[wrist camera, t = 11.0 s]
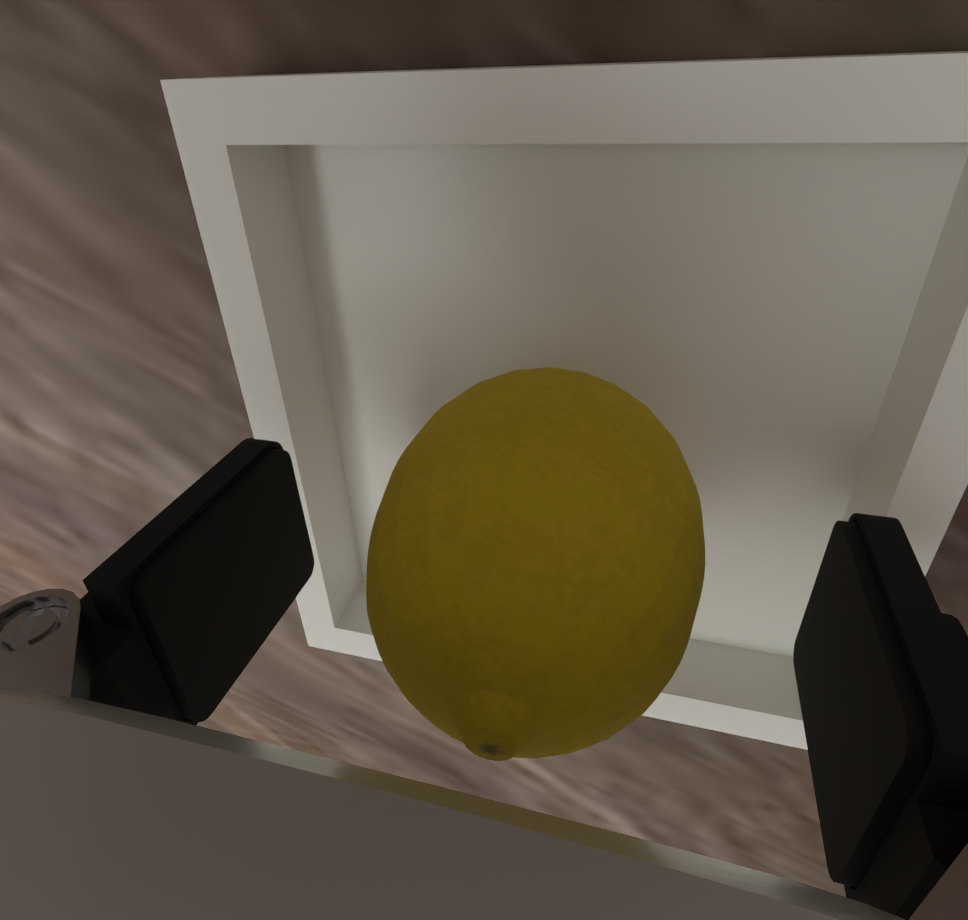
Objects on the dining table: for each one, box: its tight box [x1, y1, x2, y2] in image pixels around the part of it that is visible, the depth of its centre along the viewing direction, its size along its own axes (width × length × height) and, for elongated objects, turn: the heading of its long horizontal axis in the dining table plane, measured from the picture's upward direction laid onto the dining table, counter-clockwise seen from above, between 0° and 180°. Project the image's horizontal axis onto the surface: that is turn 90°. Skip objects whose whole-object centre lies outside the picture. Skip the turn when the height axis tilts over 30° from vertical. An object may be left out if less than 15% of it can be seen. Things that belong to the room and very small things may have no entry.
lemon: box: [366, 367, 705, 761], centre depth 11 cm, size 6×6×8 cm
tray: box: [160, 51, 968, 750], centre depth 14 cm, size 14×14×2 cm
